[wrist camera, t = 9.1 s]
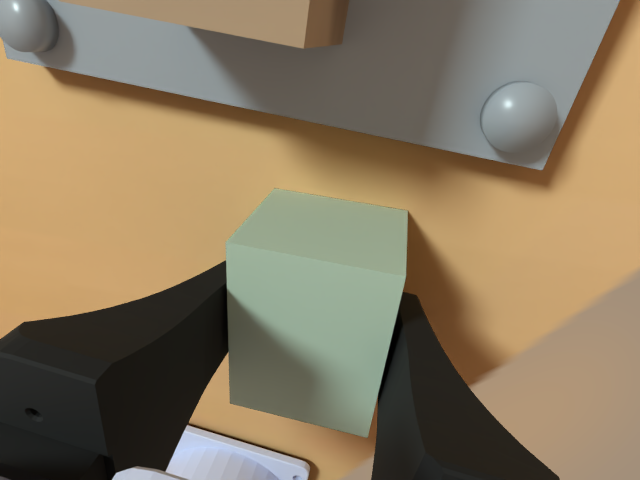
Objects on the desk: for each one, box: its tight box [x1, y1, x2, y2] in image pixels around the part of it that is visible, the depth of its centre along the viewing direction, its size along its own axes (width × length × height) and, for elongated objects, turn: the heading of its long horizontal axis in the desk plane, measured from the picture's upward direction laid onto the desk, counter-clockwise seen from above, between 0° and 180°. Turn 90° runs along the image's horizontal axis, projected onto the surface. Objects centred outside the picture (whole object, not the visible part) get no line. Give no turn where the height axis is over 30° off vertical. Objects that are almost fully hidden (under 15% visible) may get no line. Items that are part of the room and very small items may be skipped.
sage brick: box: [226, 188, 408, 438], centre depth 13 cm, size 6×4×4 cm
